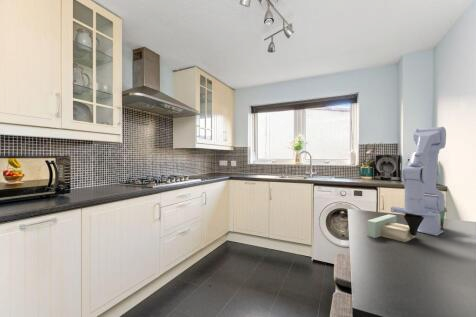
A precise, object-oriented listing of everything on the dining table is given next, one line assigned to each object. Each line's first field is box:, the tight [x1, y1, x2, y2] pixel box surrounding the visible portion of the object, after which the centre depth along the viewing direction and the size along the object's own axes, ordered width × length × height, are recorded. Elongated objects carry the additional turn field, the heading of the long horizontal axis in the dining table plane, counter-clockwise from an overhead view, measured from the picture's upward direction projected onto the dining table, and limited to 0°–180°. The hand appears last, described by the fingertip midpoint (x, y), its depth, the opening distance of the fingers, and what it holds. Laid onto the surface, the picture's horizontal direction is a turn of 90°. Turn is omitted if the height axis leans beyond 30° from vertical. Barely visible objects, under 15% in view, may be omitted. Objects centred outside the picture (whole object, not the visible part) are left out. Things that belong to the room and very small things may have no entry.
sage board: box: [366, 213, 398, 239], centre depth 91 cm, size 20×3×6 cm, turn 125°
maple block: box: [380, 222, 416, 243], centre depth 87 cm, size 10×8×4 cm
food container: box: [439, 205, 448, 230], centre depth 100 cm, size 12×6×10 cm, turn 169°
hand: (413, 234), depth 83 cm, fingers closed
